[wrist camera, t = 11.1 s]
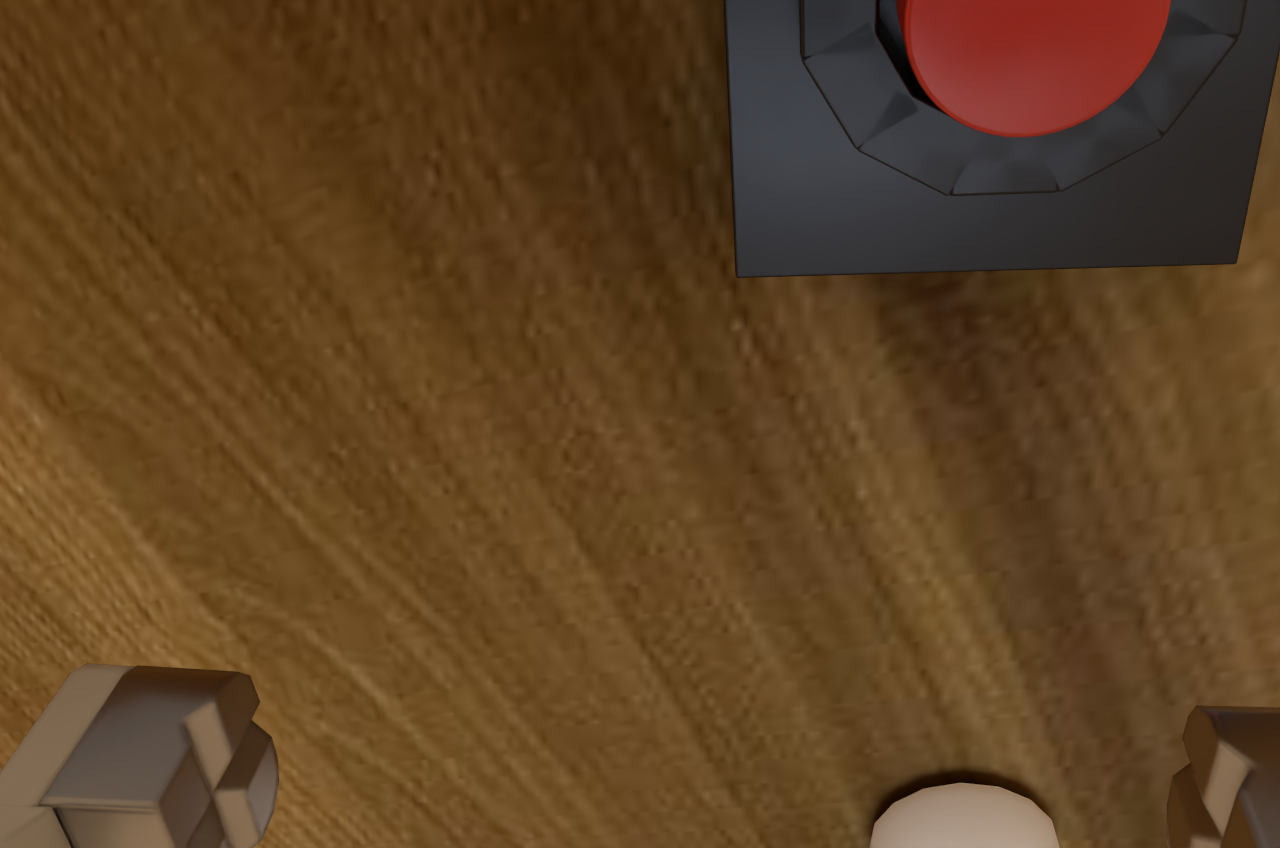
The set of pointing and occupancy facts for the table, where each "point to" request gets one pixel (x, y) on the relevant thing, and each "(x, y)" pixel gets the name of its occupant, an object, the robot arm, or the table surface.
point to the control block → (984, 151)
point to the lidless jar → (964, 820)
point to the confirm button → (1028, 58)
